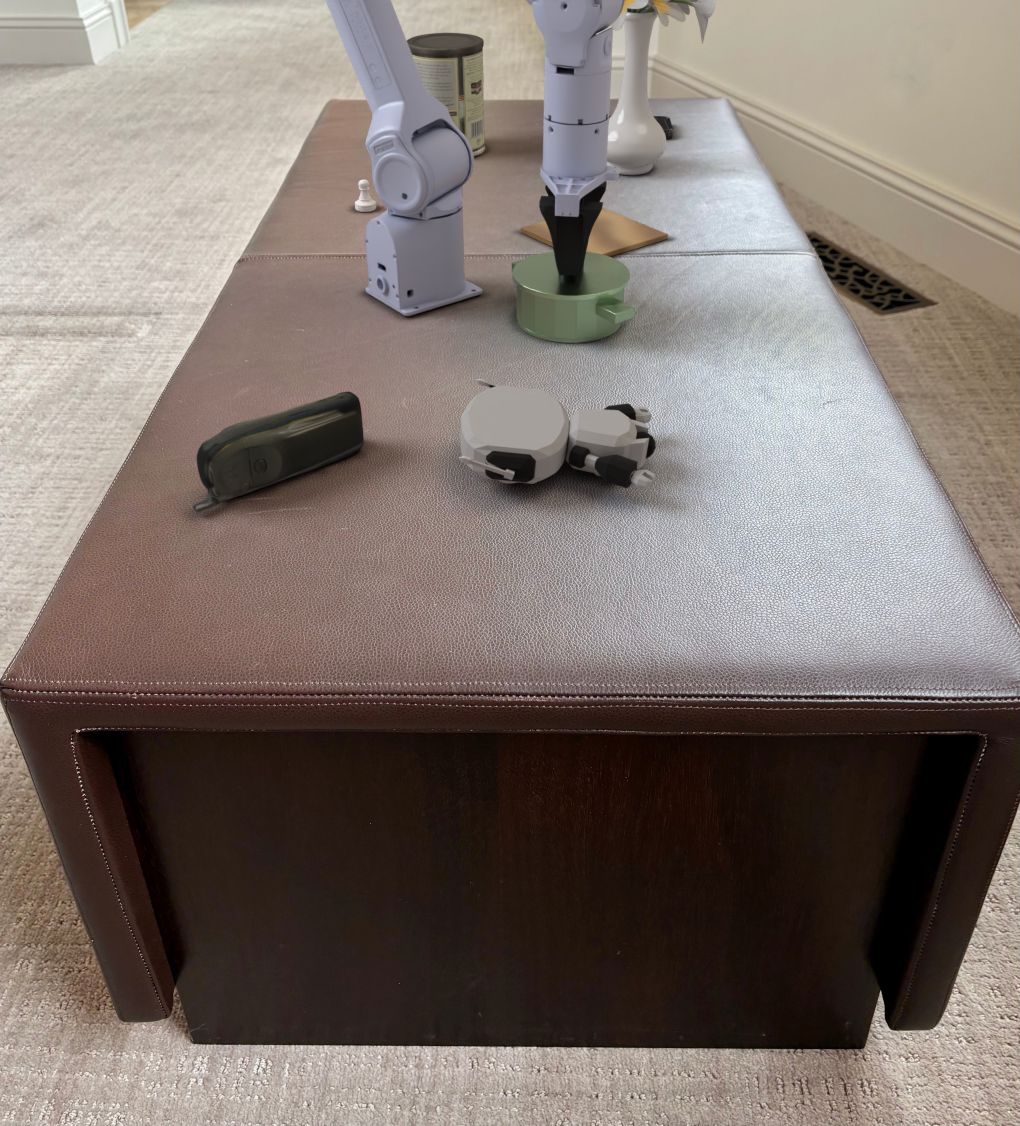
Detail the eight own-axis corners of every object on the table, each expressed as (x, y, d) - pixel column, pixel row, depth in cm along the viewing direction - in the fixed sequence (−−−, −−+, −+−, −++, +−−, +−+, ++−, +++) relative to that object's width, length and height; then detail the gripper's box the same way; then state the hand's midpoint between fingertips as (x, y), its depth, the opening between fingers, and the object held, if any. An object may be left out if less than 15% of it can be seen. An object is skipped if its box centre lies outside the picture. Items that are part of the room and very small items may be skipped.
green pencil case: (346, 382, 84) (170, 443, 76) (368, 396, 82) (190, 459, 74) (350, 437, 87) (182, 502, 79) (372, 452, 85) (201, 519, 77)
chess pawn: (351, 208, 130) (348, 179, 128) (369, 203, 132) (367, 175, 130) (362, 213, 129) (359, 184, 127) (380, 209, 130) (378, 180, 128)
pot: (581, 363, 97) (583, 318, 94) (480, 307, 107) (479, 264, 104) (662, 333, 102) (666, 289, 99) (559, 282, 112) (560, 241, 109)
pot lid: (562, 317, 96) (564, 267, 93) (488, 279, 103) (488, 231, 100) (653, 287, 101) (657, 238, 98) (577, 252, 108) (579, 206, 106)
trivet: (588, 263, 116) (588, 258, 116) (520, 232, 124) (520, 227, 123) (667, 239, 122) (668, 234, 121) (598, 211, 129) (598, 206, 129)
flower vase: (709, 183, 138) (734, -37, 123) (567, 183, 138) (574, -37, 123) (695, 153, 148) (716, -53, 133) (563, 153, 148) (569, -53, 133)
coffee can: (418, 138, 154) (413, 31, 146) (489, 140, 153) (487, 32, 145) (406, 159, 146) (399, 47, 138) (480, 161, 145) (478, 49, 137)
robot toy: (648, 437, 88) (467, 419, 88) (656, 388, 85) (469, 370, 85) (652, 522, 78) (449, 502, 78) (662, 470, 75) (451, 449, 76)
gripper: (617, 141, 87) (608, 299, 95) (626, 96, 98) (617, 241, 106) (531, 138, 88) (530, 295, 96) (550, 94, 99) (547, 238, 107)
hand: (571, 266), depth 101 cm, fingers open, 3 cm apart
